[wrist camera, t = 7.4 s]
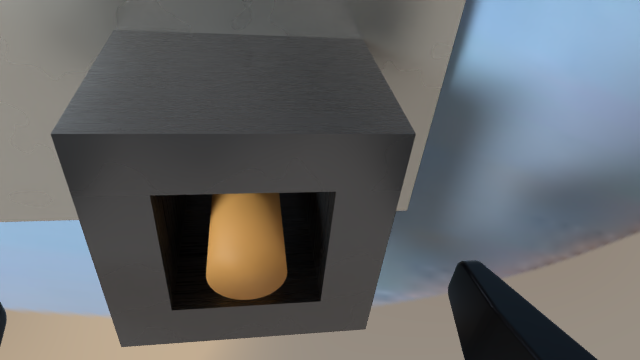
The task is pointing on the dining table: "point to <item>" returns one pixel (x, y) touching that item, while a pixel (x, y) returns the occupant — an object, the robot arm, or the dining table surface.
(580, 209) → the dining table surface
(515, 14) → the dining table surface
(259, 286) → the post
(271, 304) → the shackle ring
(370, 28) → the tie plate
